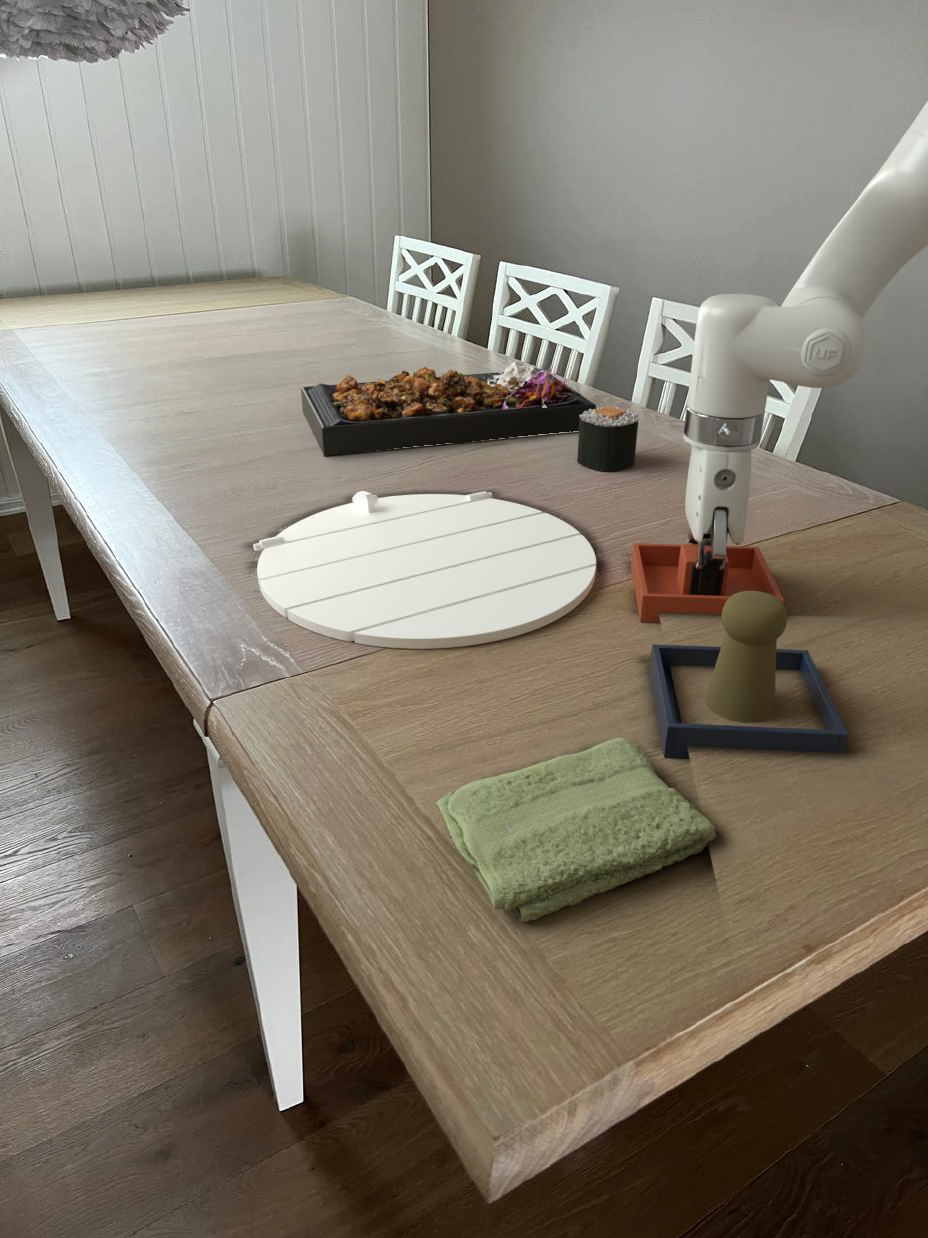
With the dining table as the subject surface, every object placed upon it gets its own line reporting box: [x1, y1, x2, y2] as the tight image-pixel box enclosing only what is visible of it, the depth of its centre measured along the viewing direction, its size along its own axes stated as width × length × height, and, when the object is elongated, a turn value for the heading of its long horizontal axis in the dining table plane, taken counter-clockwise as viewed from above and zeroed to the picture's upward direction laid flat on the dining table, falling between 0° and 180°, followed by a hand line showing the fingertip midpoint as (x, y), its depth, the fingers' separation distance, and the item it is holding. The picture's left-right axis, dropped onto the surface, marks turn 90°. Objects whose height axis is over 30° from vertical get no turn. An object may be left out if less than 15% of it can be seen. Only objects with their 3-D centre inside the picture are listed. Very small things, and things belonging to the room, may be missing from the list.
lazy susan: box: [252, 490, 597, 650], centre depth 108 cm, size 40×39×3 cm
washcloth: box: [435, 737, 717, 923], centre depth 67 cm, size 13×18×3 cm
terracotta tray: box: [630, 542, 785, 624], centre depth 101 cm, size 14×13×3 cm
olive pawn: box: [704, 591, 788, 724], centre depth 78 cm, size 6×6×11 cm
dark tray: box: [648, 643, 849, 759], centre depth 81 cm, size 14×13×3 cm
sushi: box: [576, 405, 640, 472], centre depth 137 cm, size 8×8×8 cm
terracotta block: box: [677, 543, 729, 596], centre depth 100 cm, size 4×4×4 cm
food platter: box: [300, 360, 597, 457], centre depth 155 cm, size 45×25×10 cm, turn 106°
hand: (700, 587), depth 101 cm, fingers closed on terracotta block, 4 cm apart
